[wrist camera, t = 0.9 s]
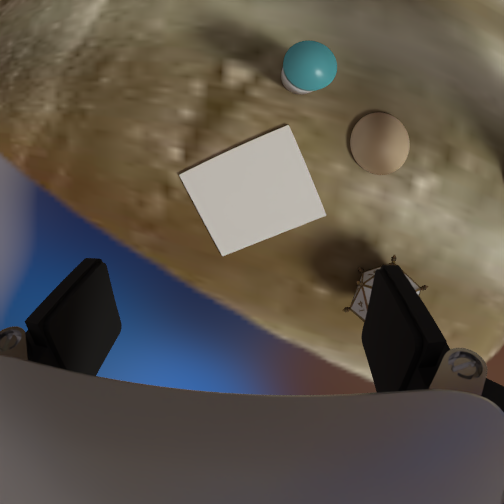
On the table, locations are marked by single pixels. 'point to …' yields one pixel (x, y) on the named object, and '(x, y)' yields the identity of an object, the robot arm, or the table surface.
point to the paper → (254, 191)
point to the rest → (379, 143)
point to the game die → (364, 291)
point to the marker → (308, 67)
